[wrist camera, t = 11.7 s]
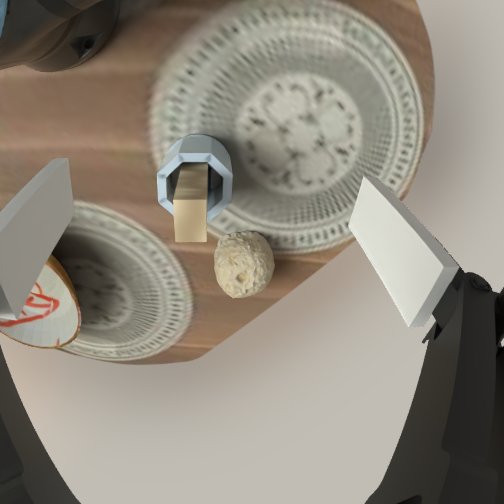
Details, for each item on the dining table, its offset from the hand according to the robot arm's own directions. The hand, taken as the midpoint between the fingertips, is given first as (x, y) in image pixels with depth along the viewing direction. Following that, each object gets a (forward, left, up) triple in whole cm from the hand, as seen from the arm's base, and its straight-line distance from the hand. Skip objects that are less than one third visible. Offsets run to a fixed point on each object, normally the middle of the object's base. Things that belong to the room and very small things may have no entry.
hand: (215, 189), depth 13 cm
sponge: (+5, -24, -29) cm, 38 cm away
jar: (-2, -9, -28) cm, 30 cm away
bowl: (-33, -27, -29) cm, 52 cm away
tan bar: (-2, -9, -28) cm, 29 cm away
